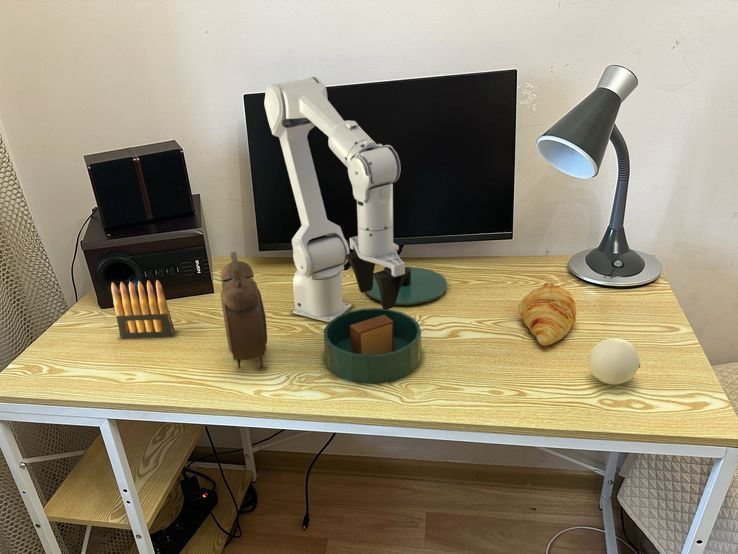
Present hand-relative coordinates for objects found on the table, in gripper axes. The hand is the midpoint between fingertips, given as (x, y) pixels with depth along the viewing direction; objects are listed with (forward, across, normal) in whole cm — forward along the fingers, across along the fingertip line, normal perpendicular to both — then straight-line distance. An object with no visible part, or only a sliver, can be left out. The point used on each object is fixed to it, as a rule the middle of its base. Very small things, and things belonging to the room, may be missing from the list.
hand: (377, 299), depth 111 cm
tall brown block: (+10, -2, +2) cm, 10 cm away
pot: (+10, -2, +2) cm, 11 cm away
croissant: (+10, -9, -31) cm, 34 cm away
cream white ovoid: (+10, -27, -27) cm, 40 cm away
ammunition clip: (+11, +30, +36) cm, 48 cm away
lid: (+10, +18, -18) cm, 27 cm away
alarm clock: (+11, +11, +21) cm, 26 cm away
